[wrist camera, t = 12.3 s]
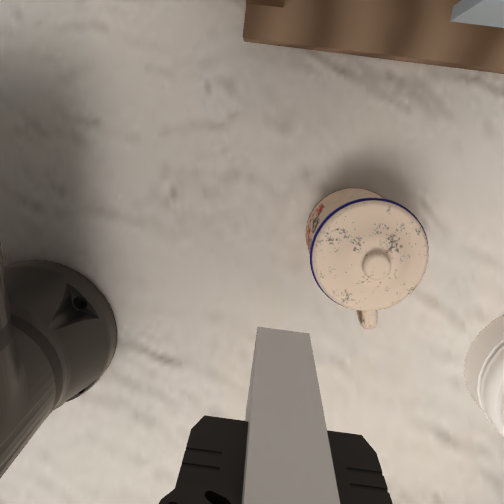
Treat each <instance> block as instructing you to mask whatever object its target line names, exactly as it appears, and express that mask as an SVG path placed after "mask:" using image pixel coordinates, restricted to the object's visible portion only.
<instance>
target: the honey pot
mask: <svg viewBox="0 0 504 504" xmlns="http://www.w3.org/2000/svg"><path fill="white" fill-rule="evenodd" d="M464 378H465V383H466V387H467V389H468V391H469V393H470V395H471V396H472V398H473V400H474V401H475V402H476V404H477V405H478V406H479V408H480V409H481V410H482V412H483V413H484V414H485V416H486V417H487V418H488V419H489V420H490V422H491V424H493V425H494V427H495V429H496V430H497V431H498V432H499V433H500V434H501V435H502V436H504V315H503V316H501V317H499V318H497V319H496V320H494V321H492V322H491V323H490V324H489V325H488V326H486V327H485V328H484V329H483V330H482V331H480V333H479V334H478V335H477V337H476V338H475V340H474V341H473V342H472V344H471V345H470V347H469V350H468V353H467V355H466V358H465V363H464Z"/></svg>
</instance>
